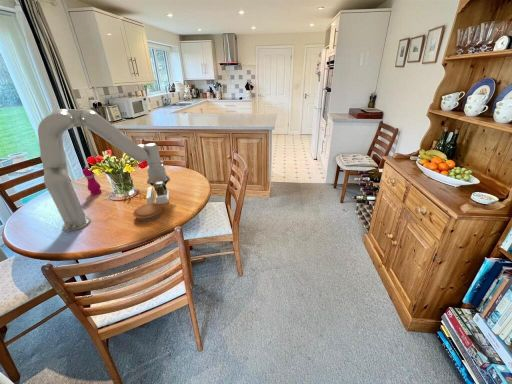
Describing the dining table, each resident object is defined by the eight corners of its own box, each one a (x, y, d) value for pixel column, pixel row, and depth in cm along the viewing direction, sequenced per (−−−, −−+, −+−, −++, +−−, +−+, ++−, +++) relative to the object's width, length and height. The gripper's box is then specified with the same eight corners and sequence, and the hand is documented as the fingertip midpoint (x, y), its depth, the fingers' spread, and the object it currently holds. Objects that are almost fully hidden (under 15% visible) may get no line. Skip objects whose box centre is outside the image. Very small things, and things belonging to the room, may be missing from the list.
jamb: (168, 202, 147) (167, 195, 144) (148, 206, 144) (146, 198, 141) (168, 191, 161) (167, 184, 159) (150, 193, 158) (148, 187, 156)
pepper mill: (104, 190, 164) (95, 163, 154) (97, 195, 157) (87, 167, 148) (95, 190, 164) (85, 163, 155) (87, 195, 158) (76, 167, 149)
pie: (169, 213, 136) (168, 205, 134) (145, 226, 125) (143, 218, 123) (153, 206, 144) (151, 198, 142) (129, 218, 132) (126, 210, 130)
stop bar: (158, 188, 155) (156, 180, 152) (165, 187, 156) (163, 179, 153) (157, 195, 146) (155, 187, 143) (164, 194, 147) (162, 186, 144)
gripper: (169, 160, 148) (174, 186, 156) (140, 163, 143) (147, 190, 152) (169, 164, 141) (174, 191, 150) (139, 168, 137) (146, 195, 145)
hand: (161, 190), depth 151 cm, fingers closed on stop bar, 4 cm apart
